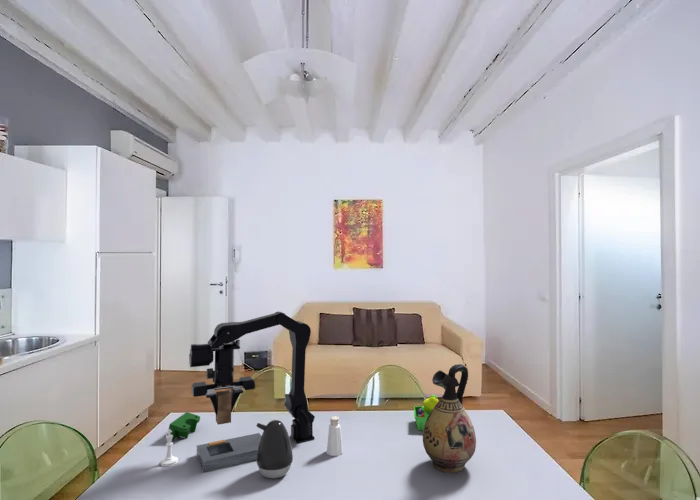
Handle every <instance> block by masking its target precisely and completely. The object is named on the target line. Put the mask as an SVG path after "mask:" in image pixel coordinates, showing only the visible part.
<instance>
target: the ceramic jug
mask: <svg viewBox="0 0 700 500" xmlns="http://www.w3.org/2000/svg"><path fill="white" fill-rule="evenodd" d="M468 370H469V369H468V367H466V366H465V365H464V364H460V363H459V364H454V365H451V367H450V368H449V370H448V373H445V372H444V371H442V370H440V369H439V370H438V371H436V372H435V373H434V374H433V377H432V378H431V379H432V384H433V385H434V386H438V387H441V388H443V389H444V393H443V394H442V396H441V397H440V399H438V403H437V404H436V405H435V407H434V408H433V410H432V411H431V413H430V414H429V416H428V418H427V420H426V423H425V426H424V430H422V431H423V432H422V443H423V444H422V445H423V447H424V451H425V453H426V455H428V457H429V458H430V460H431V463H432V467H433V468H434V469H435V470H439V471H441V472H442V473H448V474H454V473H460V472H461V471H463V469H464V468H465V466H466V464H467V462H469V461H470V460H471V459H472V457H473V456H474V454H475V452H476V448H477V438H476V432H475V428H474V427H475V426H474V425H473V422H472V419H471V418H470V416H469V414H468V412H467V411H466V408H465V407H464V405H463V404H464V403H463V401H464V400H463V399H464V394H465V390H466V386H467V384H468V380H469V371H468ZM458 372H459V373H460V372H461V375H460V380H459V381H458V379H457V377H456V374H457V373H458ZM456 388H457V390H456Z"/></svg>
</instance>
